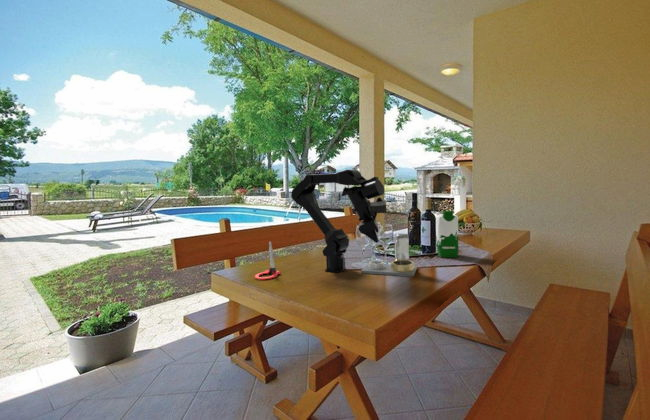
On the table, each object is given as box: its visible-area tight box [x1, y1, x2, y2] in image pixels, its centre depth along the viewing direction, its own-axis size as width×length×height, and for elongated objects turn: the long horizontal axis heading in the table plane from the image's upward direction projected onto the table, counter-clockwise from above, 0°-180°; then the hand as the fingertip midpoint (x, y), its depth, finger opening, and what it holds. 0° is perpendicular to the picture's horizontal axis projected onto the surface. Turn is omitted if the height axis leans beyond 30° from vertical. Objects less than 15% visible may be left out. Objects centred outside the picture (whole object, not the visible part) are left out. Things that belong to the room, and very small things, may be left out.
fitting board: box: [360, 263, 418, 277], centre depth 123 cm, size 19×11×1 cm, turn 67°
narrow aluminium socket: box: [367, 260, 385, 270], centre depth 125 cm, size 6×6×2 cm
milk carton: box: [435, 210, 459, 258], centre depth 143 cm, size 9×9×20 cm
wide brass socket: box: [390, 260, 415, 272], centre depth 121 cm, size 8×8×2 cm
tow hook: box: [254, 241, 282, 281], centre depth 122 cm, size 8×13×9 cm
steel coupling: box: [394, 233, 410, 265], centre depth 121 cm, size 5×5×13 cm
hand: (377, 236), depth 124 cm, fingers open, 9 cm apart
